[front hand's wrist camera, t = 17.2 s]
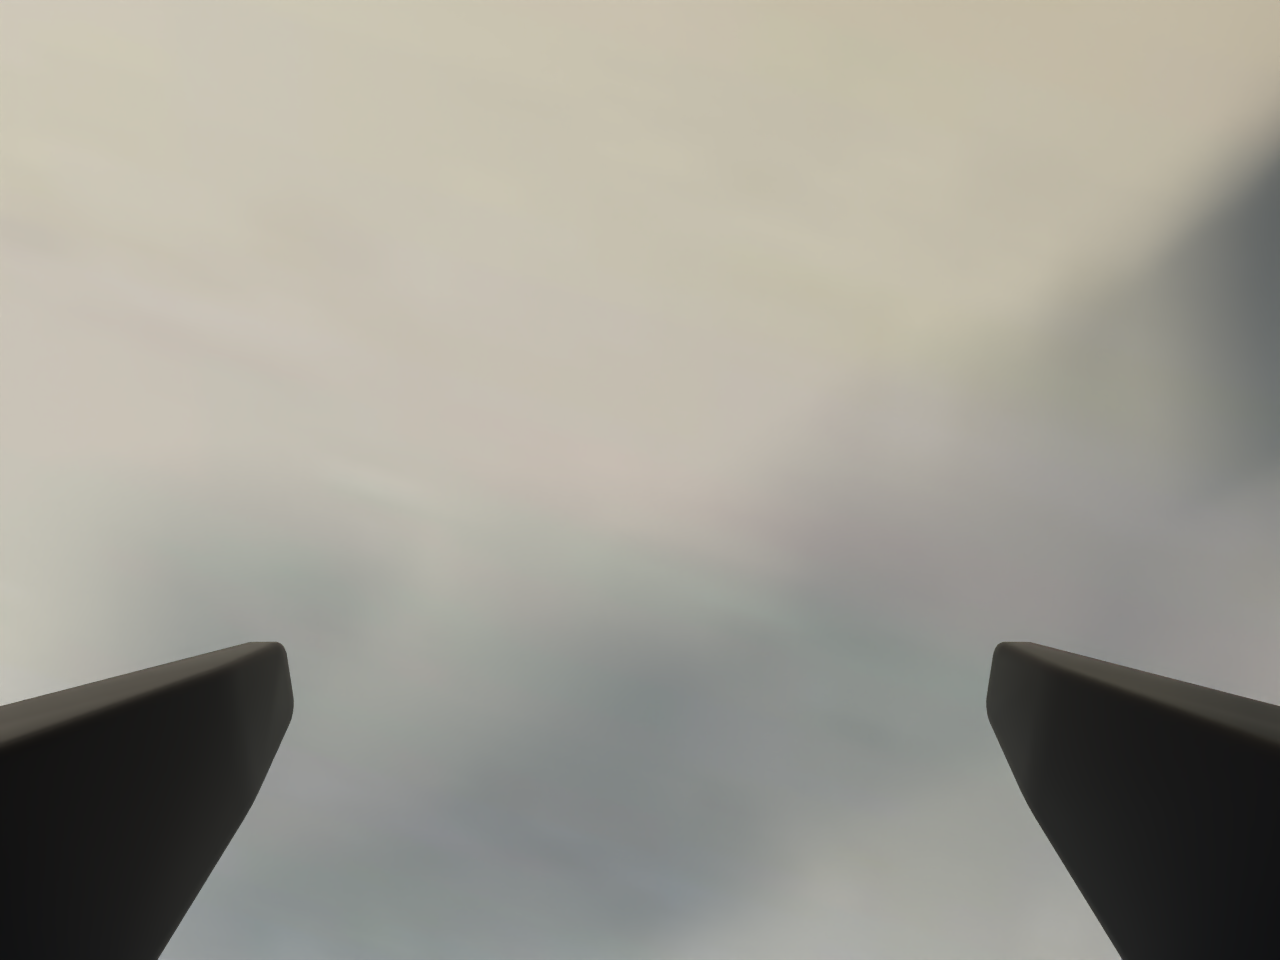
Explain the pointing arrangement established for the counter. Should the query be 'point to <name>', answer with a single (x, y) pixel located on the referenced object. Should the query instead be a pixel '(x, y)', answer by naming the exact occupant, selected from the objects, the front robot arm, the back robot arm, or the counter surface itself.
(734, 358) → the counter surface
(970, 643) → the counter surface
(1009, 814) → the counter surface
